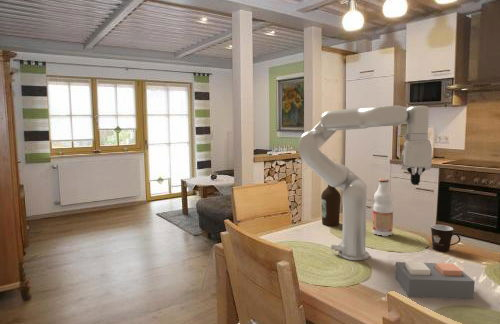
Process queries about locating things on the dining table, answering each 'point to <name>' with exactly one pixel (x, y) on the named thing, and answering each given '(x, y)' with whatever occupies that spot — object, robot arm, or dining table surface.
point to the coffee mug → (442, 237)
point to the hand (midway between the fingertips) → (415, 184)
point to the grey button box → (434, 284)
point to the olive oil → (330, 206)
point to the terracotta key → (448, 269)
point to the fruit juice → (383, 209)
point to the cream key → (417, 268)
